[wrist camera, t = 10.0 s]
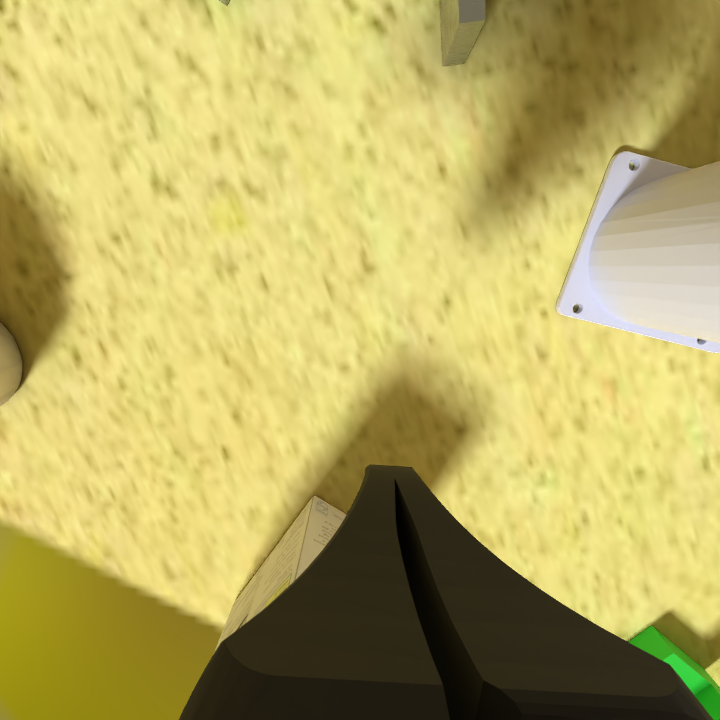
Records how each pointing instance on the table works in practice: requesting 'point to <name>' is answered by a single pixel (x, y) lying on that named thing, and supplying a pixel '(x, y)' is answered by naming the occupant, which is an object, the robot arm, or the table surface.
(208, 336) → the table surface
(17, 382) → the cupcake
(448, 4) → the motor bracket
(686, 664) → the mechanical part
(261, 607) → the light bulb box
